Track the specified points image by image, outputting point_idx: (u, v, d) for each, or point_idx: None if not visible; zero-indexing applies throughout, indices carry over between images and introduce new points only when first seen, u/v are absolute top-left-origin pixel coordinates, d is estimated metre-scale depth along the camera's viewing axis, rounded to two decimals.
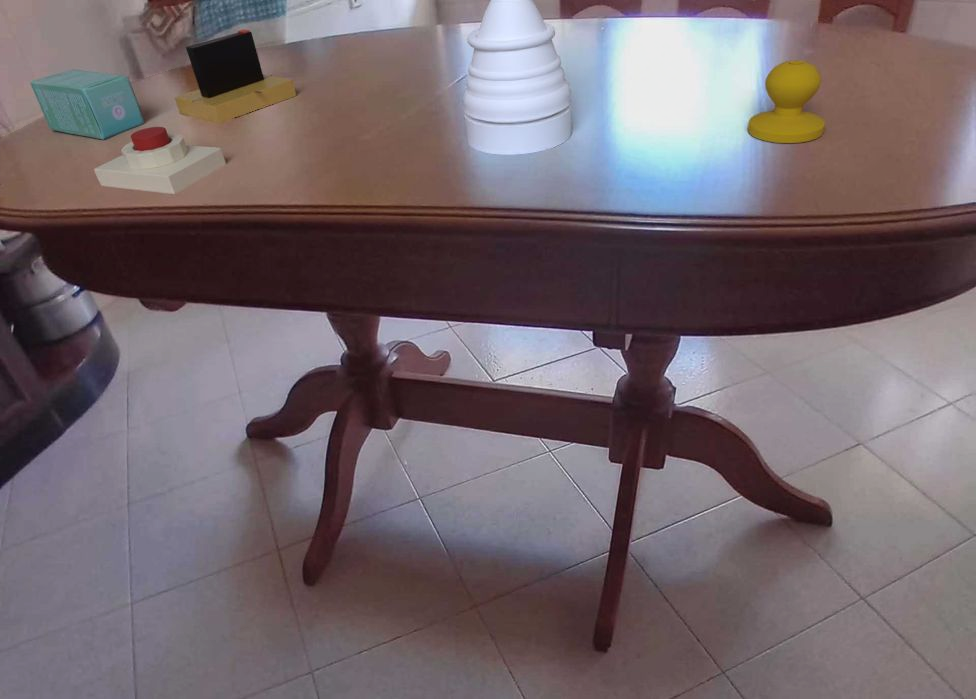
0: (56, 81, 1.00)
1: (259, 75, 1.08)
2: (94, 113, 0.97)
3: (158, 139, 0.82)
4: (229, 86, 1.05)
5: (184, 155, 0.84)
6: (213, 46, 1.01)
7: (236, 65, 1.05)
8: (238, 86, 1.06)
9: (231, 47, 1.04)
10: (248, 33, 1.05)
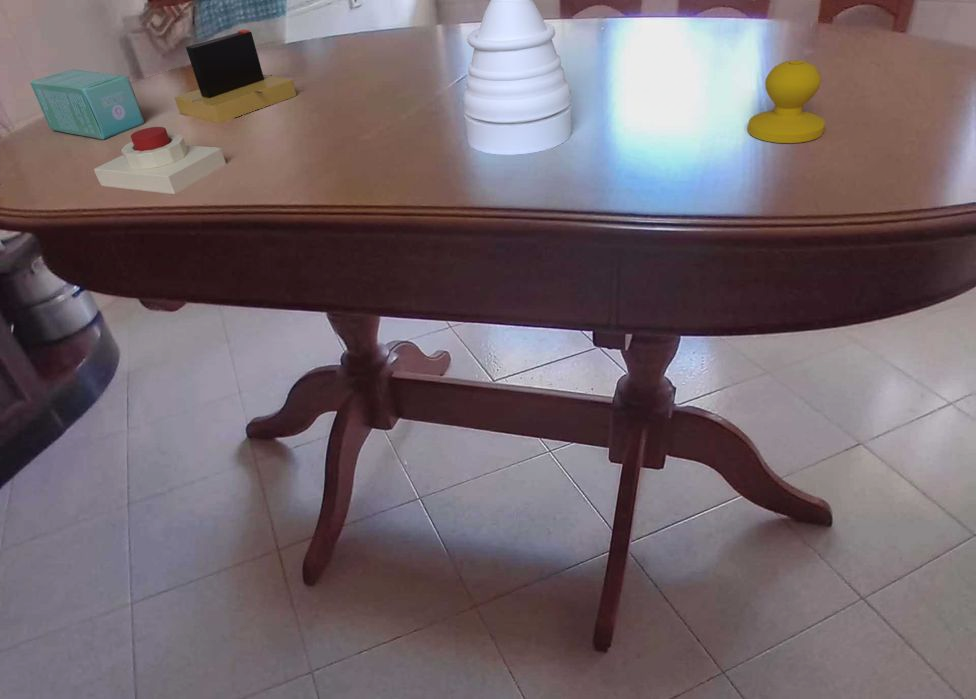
0: (56, 81, 1.00)
1: (259, 75, 1.08)
2: (94, 113, 0.97)
3: (158, 139, 0.82)
4: (229, 86, 1.05)
5: (184, 155, 0.84)
6: (213, 46, 1.01)
7: (236, 65, 1.05)
8: (238, 86, 1.06)
9: (231, 47, 1.04)
10: (248, 33, 1.05)
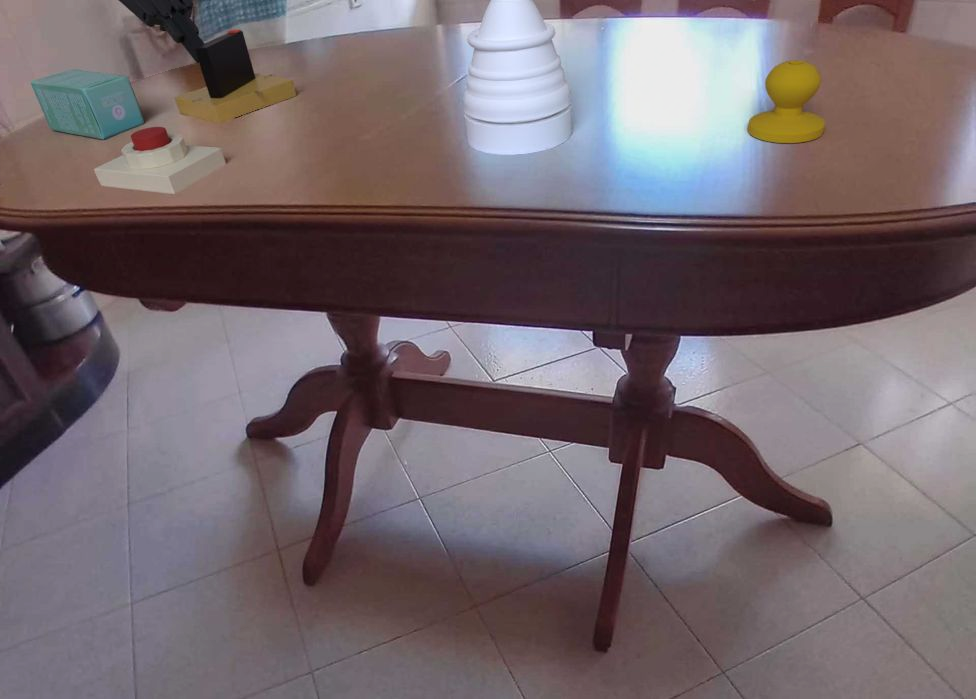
0: (56, 81, 1.00)
1: (252, 74, 1.09)
2: (94, 113, 0.97)
3: (158, 139, 0.82)
4: (234, 86, 1.05)
5: (184, 155, 0.84)
6: (219, 45, 1.01)
7: (236, 64, 1.05)
8: (239, 85, 1.07)
9: (231, 46, 1.04)
10: (240, 32, 1.06)
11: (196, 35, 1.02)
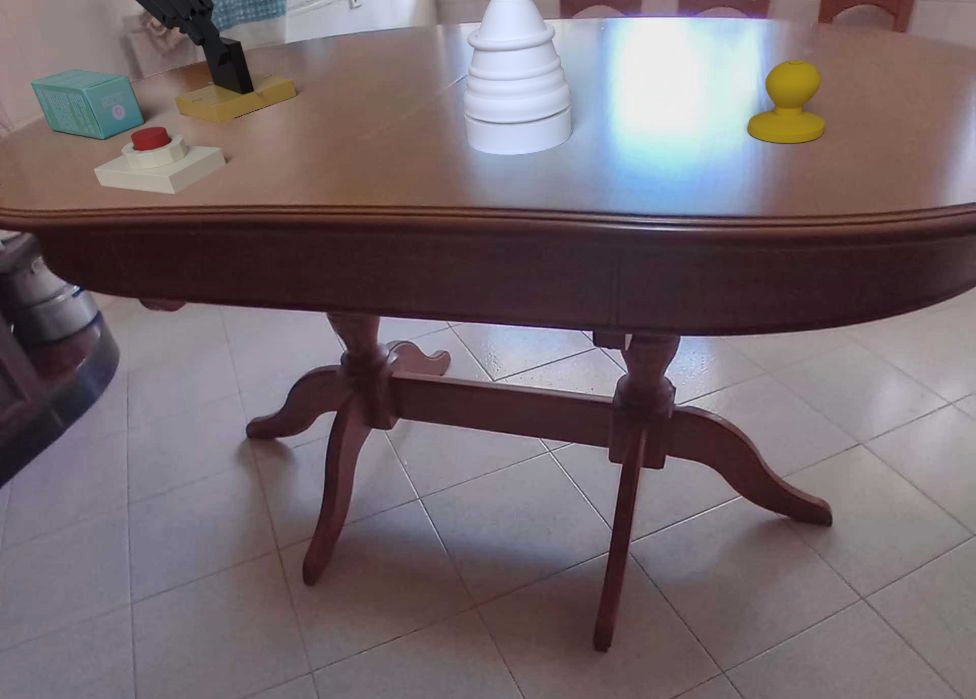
0: (56, 81, 1.00)
1: None
2: (94, 113, 0.97)
3: (158, 139, 0.82)
4: None
5: (184, 155, 0.84)
6: None
7: None
8: None
9: None
10: None
11: (217, 37, 0.99)
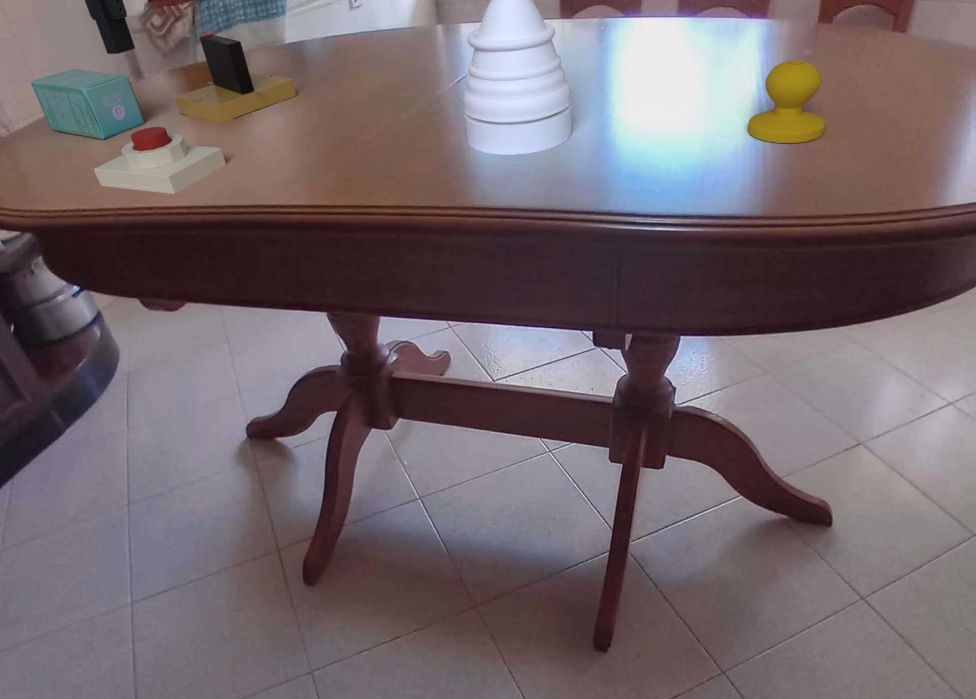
0: (56, 81, 1.00)
1: None
2: (94, 113, 0.97)
3: (158, 139, 0.82)
4: None
5: (184, 155, 0.84)
6: None
7: None
8: None
9: None
10: None
11: (107, 30, 0.76)
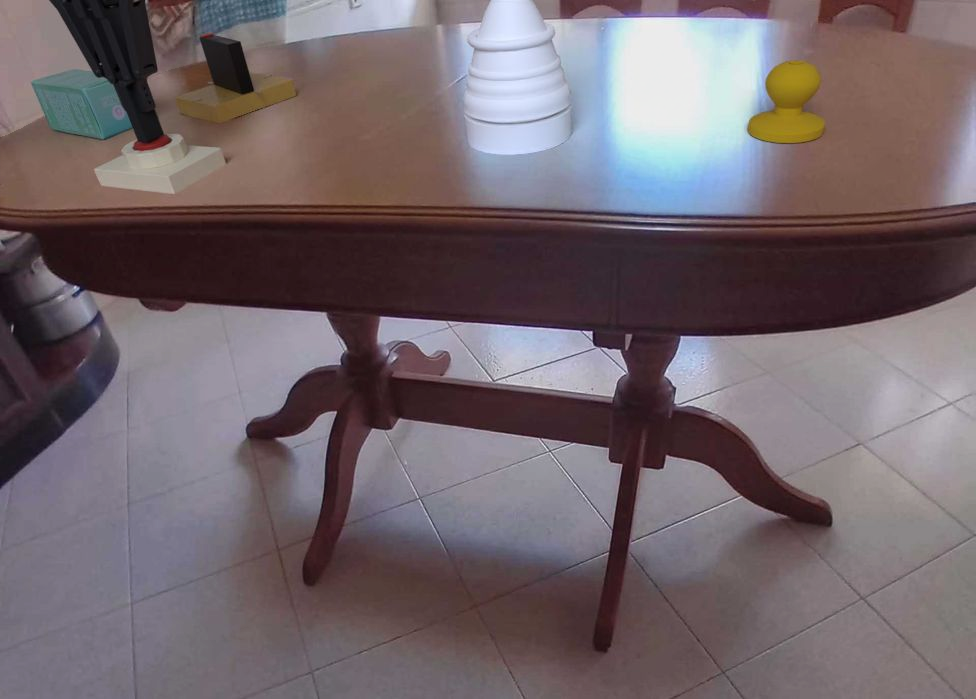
0: (56, 81, 1.00)
1: None
2: (94, 113, 0.97)
3: None
4: None
5: (184, 155, 0.84)
6: None
7: None
8: None
9: None
10: None
11: (137, 121, 0.81)
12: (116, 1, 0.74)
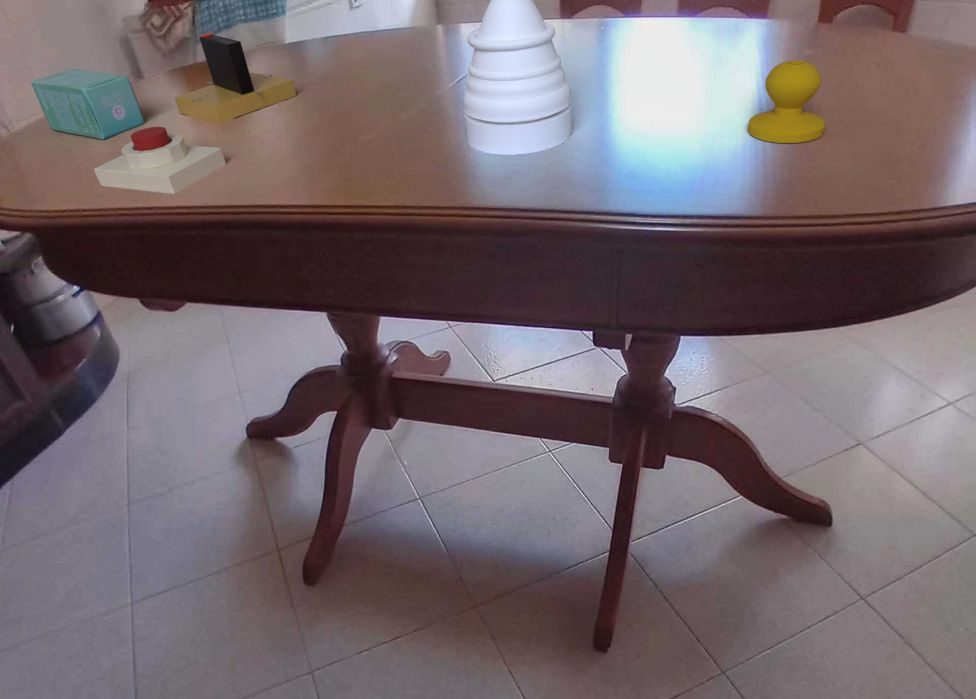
0: (57, 81, 1.00)
1: None
2: (94, 113, 0.97)
3: (158, 139, 0.82)
4: None
5: (184, 155, 0.84)
6: None
7: None
8: None
9: None
10: None
11: None
12: None
